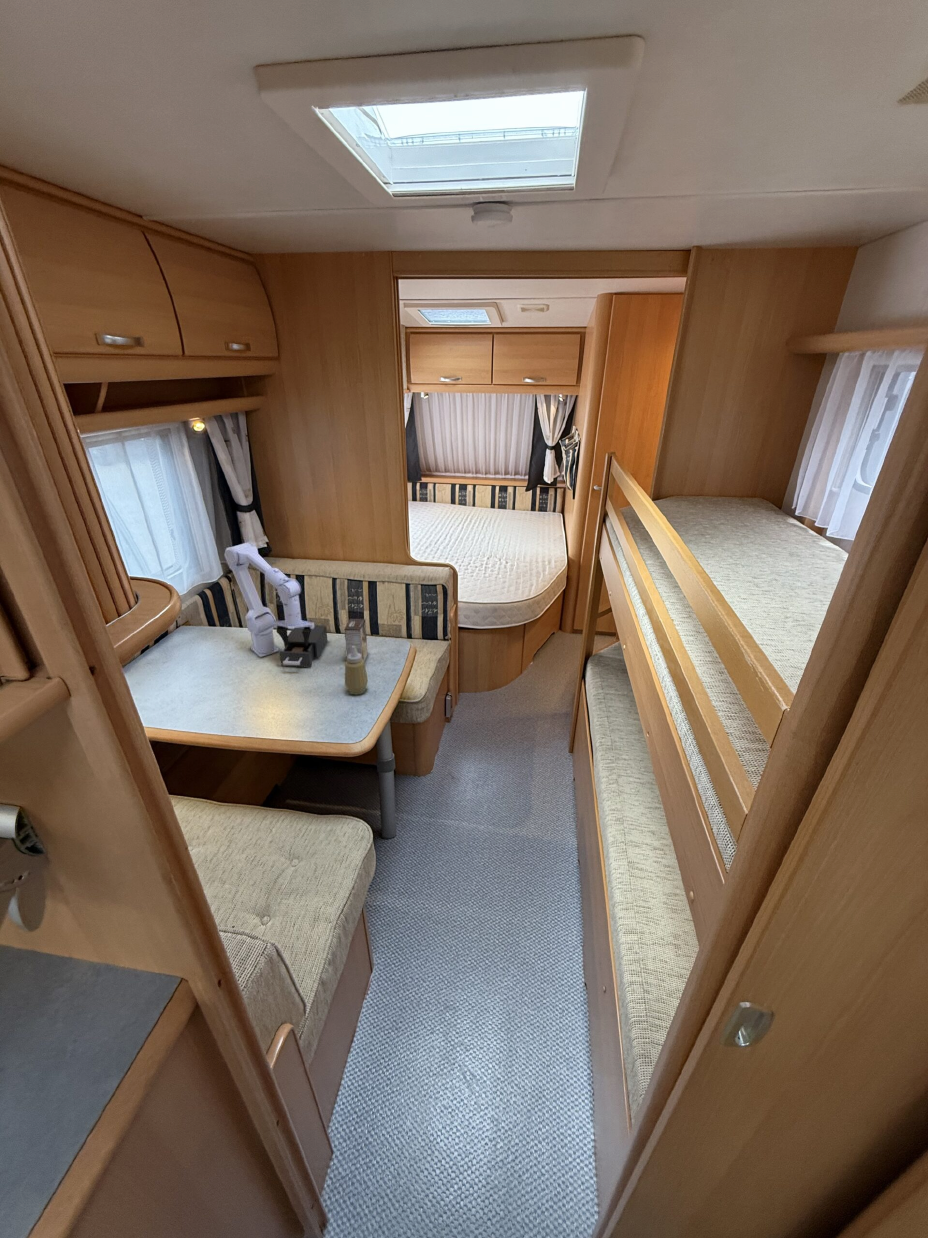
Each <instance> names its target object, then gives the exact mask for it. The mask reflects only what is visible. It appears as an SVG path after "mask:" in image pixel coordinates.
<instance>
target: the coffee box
mask: <svg viewBox="0 0 928 1238" xmlns="http://www.w3.org/2000/svg"><path fill="white" fill-rule="evenodd" d="M366 620H367V619H366V618H349V620H348V622H347V623H346V626H345V627H344V639H345V641H344V642H345V653H346V661H347V660H348V655H349V654H351V650H352V646H355V647H356V650H357V653H359V654H361V659H363V660H364V663H366V659H367V657H368V653H369V652H368V638H367V625H366V624H367V623H366V622H367V621H366Z"/></svg>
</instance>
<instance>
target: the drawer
mask: <svg viewBox="0 0 928 1238" xmlns="http://www.w3.org/2000/svg"><path fill="white" fill-rule="evenodd" d="M294 647H299V648H304V651H305V652H296V651H292V649H293V648H294ZM278 652H279V653H278V654H279V658H280V659H279V660H280V666H282V667H283V666H285V667H308V668H309V667H310V668H311V667H312V665H313V664H312V661H313V660H314V659H313V658H314V656H315V647H314V644H308V645H307V646H305V644H297V643H288V644H287V645H286V647H285V646H284V647H283V650H279V651H278Z"/></svg>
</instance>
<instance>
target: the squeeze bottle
mask: <svg viewBox="0 0 928 1238" xmlns="http://www.w3.org/2000/svg"><path fill="white" fill-rule="evenodd" d="M365 663H366V662H364V660H363V659H361V654H359V653H357V650H356V647H355V646H352V650H351V654H349V655H348V660H347V659H346V660H345V663H344V664H345V665H344V685H345V687H346V689H347V691H348V693H350V695H355V696H356V695H362V694H363V693H364V692H365V691H366V688H367V685H368V682H369V678H368V675H367V669H366V664H365Z"/></svg>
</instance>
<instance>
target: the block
mask: <svg viewBox="0 0 928 1238" xmlns="http://www.w3.org/2000/svg"><path fill="white" fill-rule="evenodd" d="M292 651H296V652H305V651H304V648H299V647H294V648H293V649H292Z"/></svg>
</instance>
